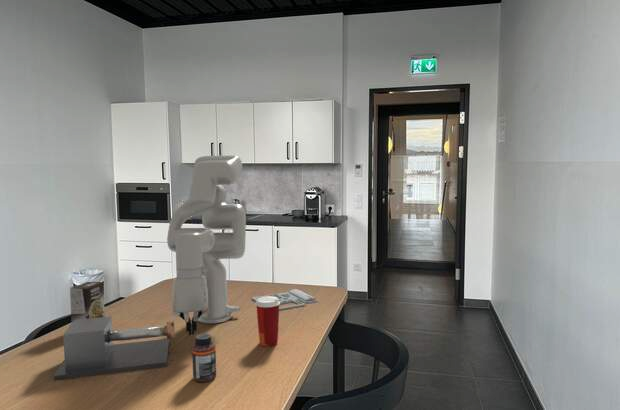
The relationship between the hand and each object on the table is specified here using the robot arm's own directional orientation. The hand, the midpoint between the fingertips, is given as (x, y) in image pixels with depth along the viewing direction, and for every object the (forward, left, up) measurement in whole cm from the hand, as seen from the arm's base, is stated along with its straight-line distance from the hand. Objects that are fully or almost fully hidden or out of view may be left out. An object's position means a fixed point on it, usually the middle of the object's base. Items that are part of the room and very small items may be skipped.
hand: (191, 333), depth 131 cm
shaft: (+16, 0, -1) cm, 16 cm away
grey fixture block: (+21, 0, -5) cm, 22 cm away
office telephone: (-38, -41, -6) cm, 56 cm away
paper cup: (-23, +1, -6) cm, 24 cm away
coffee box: (+34, -28, -6) cm, 45 cm away
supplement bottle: (-3, +19, -6) cm, 20 cm away
